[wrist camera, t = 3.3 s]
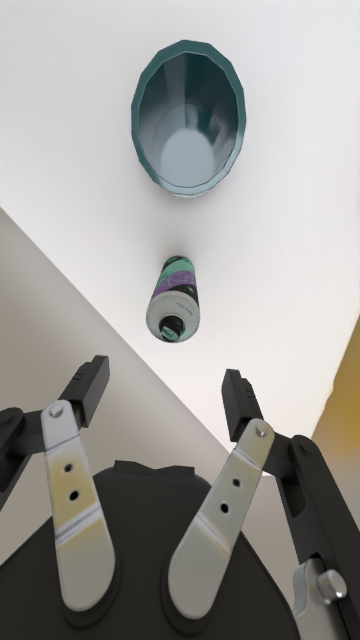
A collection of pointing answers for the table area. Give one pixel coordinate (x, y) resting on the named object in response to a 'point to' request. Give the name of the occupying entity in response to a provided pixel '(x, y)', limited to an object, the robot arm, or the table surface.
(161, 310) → the spray can
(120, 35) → the table surface
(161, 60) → the crock
